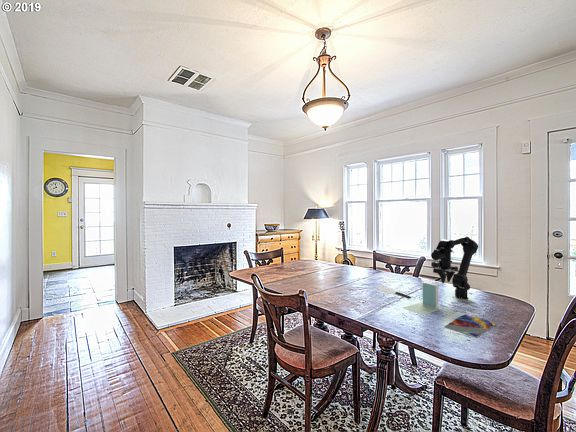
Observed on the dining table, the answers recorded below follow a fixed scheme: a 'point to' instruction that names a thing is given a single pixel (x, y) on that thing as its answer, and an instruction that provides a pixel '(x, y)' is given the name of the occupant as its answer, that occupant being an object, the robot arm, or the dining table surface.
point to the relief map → (470, 325)
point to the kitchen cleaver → (391, 291)
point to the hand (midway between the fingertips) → (445, 282)
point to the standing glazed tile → (430, 294)
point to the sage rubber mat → (421, 308)
